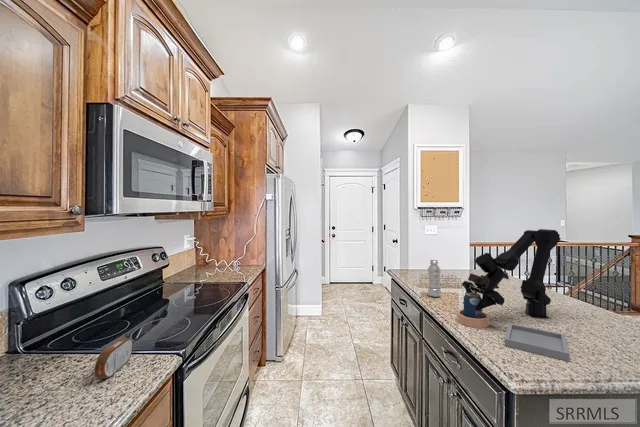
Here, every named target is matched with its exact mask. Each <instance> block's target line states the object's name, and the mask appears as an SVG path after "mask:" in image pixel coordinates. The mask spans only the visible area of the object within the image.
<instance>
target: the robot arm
mask: <svg viewBox="0 0 640 427" xmlns="http://www.w3.org/2000/svg"><path fill="white" fill-rule="evenodd" d="M559 240H560V233H559V232H558V231H557V230H556V229H548V228H547V229H545V228H540V229H537V230H531V229H528V230H527V229H526V230H524V232H523V234H522V235H521V236H520V237H519V239H518V240H516V242H515V243H513V245H511V247H510V248H509V249H508V250H506V251H504V252H501V253H499V254H498V255H497V256H496V257H495V258H494V257H492V255H491V253H489V252H484V254H480V255H479V256H477V257H476V258H475V260H474V261H475V264H476V265H477V266H478V267H479V268H480V269H481V270H482V271H483V272H484V273H486V274H485V275H483V274H481V275H477V274H474V273H472V272H471V273H470V274H469V276H468V278H467V280H464V281H462V283H461V286H462V287H463V288H464V289H465V293H468V292H472V293H477V294H480V295H482V296H481V298H482V299H481V301H480V302H479V304H478V305H477V306H476V308H475V310H476V311H478V310H481V309H482V310H483V309H486V308H489V307H491V306H496V305H498V306H499V305H500V306H503V305H504V304H505V298H504V296H503V295H501V294H500V292H499V291H497V290H498V289H499V288H500V286H499V284H500V283H501V282H502V280H503V279H505V280H509V279H510V278H509V273H508V272H510V271H511V272H513V271H514V270H515V269H516V268H517V267H518V265H519V263H520V258H521V256H523V254H524V253H526V251H527V250H528V249H529V248H530V247H531V246H532V244H534V243H535V245H536V250H535V254H534V258H533V261H532V266H531V270H530V274H529V277H528V278H527V279H523V280H522V281H521V286H520V293H521V295H522V298H523V300H526V303H525V311H524V312H525V314H527V315H528V316H530V317H531V318H541V319H543V318H544V319H549V316H548V315H547V306H548V305H550V304H551V302H552V301H551V300H552V299H551V298H550V297H549V295H548V294H547V293H546V289H547V288H546V286H545V282H544V279H545V275H546V272H547V266H548V264H549V263H548V262H549V259H550V254H551V251H552V250H553V249H554V248H555V247H556V246H557V245H558V243H559ZM505 271H508V272H505ZM495 289H497V290H495ZM462 304H463V305H464V301H463V302H462Z"/></svg>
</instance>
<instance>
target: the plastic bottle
mask: <svg viewBox="0 0 640 427" xmlns="http://www.w3.org/2000/svg"><path fill="white" fill-rule="evenodd" d="M438 262H439V261H438V260H437V259H430V262H429V263H430V265H429V266H428V268H427V274H428V275H427V276H428V289H427V293H428V296H430V297H432V298H438V297H439V298H440V296H441V295H442V290H441V284H440V280H441V279H440V278H441V277H440V276H441V268H440V266H439V265H438V264H439V263H438Z"/></svg>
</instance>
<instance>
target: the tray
mask: <svg viewBox="0 0 640 427" xmlns="http://www.w3.org/2000/svg"><path fill="white" fill-rule="evenodd" d="M505 332H506V334H505V337H504V347H508V348H510V349H511V348H513V349H516V350H520V351H525V352H528V353H532V354H537V355H540V356H545V357H549V358H552V359H553V358H554V359H557V360H561V361H564V362H570V350H569V347H568V341H567V337H566V334H565V333H560V332H556V331H551V330H546V329H540V328H535V327H530V326H524V325H521V324H516V323H511V322H508V325H507V329H506V331H505Z"/></svg>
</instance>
